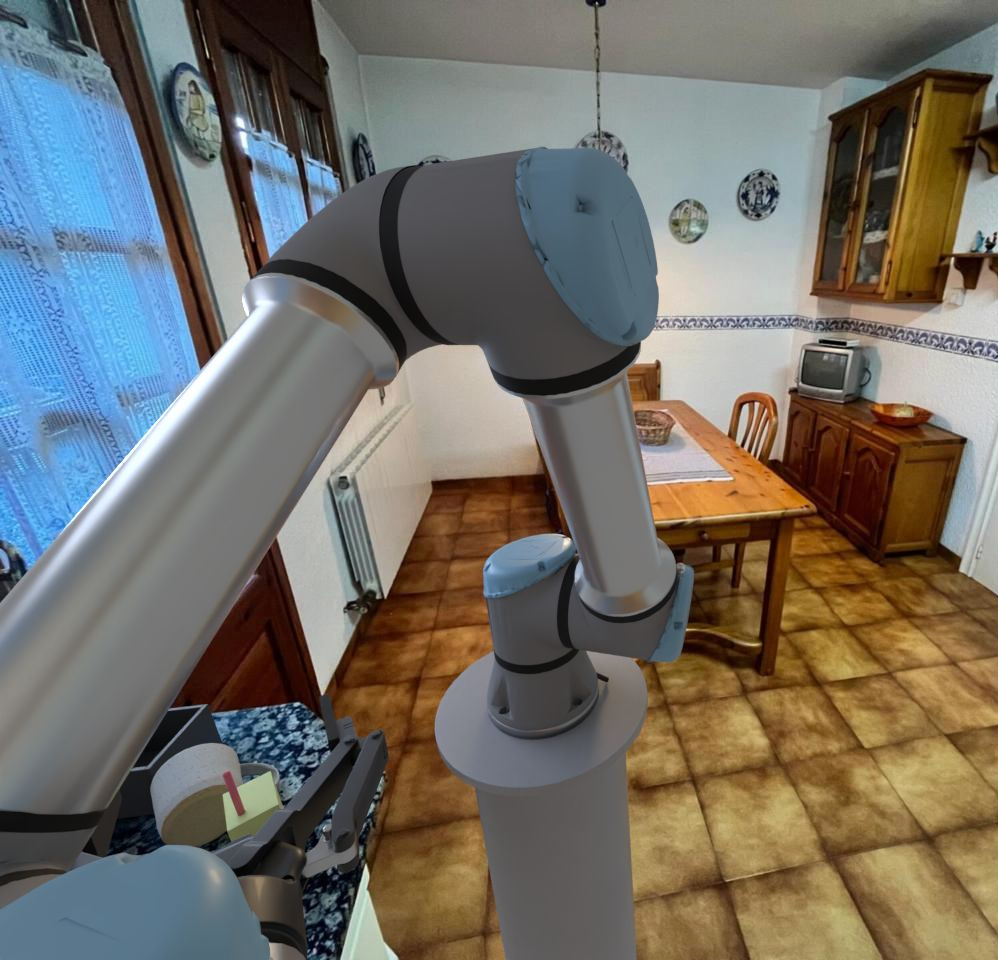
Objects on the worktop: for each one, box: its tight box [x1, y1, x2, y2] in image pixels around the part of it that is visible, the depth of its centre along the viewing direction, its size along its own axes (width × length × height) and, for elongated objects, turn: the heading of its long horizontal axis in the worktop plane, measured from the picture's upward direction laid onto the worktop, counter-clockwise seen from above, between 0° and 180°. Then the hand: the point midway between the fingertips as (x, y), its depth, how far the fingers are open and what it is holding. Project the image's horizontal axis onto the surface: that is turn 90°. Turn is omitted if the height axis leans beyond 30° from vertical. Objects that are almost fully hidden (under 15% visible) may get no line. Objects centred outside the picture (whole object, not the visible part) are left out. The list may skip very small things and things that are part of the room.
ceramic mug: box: [150, 743, 281, 848], centre depth 58 cm, size 11×8×8 cm
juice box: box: [223, 771, 285, 843], centre depth 51 cm, size 4×5×14 cm
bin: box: [117, 703, 223, 820], centre depth 62 cm, size 10×10×6 cm
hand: (228, 743), depth 41 cm, fingers open, 13 cm apart
